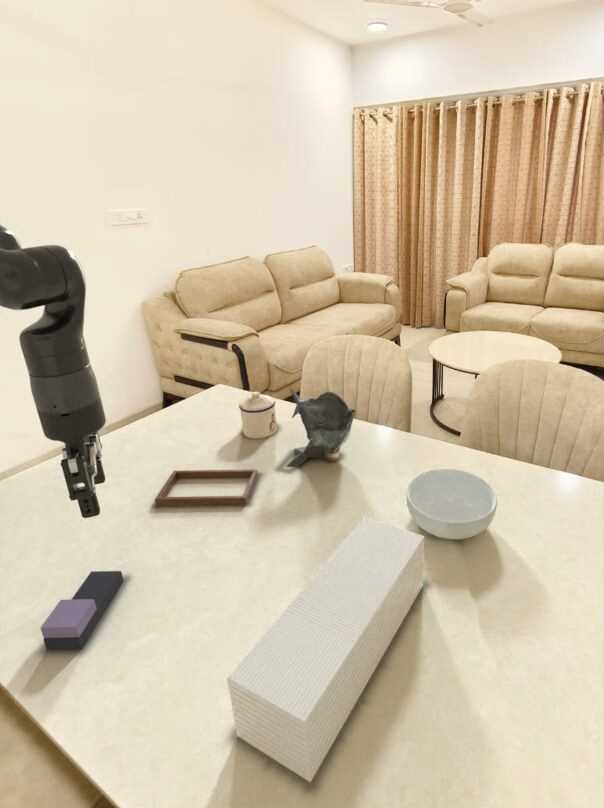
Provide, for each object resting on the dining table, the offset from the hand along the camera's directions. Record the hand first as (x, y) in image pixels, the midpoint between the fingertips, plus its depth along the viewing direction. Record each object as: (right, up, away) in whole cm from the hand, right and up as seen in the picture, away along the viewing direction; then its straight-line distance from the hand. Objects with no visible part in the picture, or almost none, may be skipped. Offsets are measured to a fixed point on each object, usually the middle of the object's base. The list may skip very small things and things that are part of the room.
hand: (95, 498), depth 74 cm
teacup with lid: (+11, +3, +60) cm, 61 cm away
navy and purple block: (-3, -19, +4) cm, 20 cm away
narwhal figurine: (+29, -3, +45) cm, 53 cm away
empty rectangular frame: (+6, -7, +34) cm, 35 cm away
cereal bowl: (+56, -11, +24) cm, 62 cm away
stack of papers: (+37, -22, -2) cm, 43 cm away
